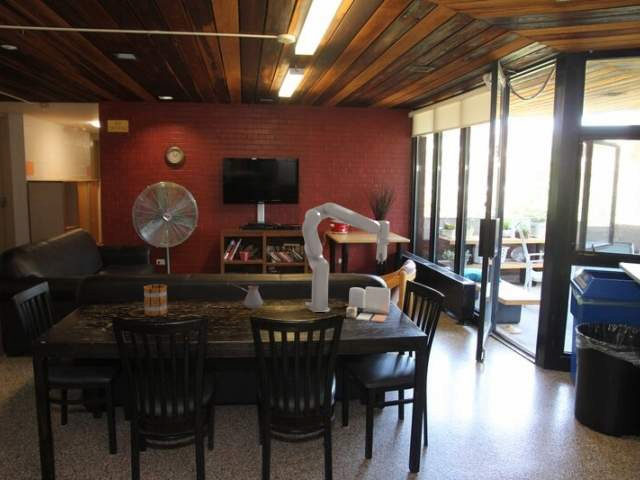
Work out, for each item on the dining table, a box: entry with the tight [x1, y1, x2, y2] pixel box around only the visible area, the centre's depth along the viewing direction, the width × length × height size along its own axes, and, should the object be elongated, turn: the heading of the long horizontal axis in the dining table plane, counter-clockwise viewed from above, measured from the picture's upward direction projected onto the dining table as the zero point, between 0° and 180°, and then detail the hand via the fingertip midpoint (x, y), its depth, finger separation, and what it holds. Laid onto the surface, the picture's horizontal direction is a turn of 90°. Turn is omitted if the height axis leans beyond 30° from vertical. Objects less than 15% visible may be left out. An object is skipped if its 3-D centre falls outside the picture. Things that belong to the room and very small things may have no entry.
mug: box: [143, 283, 168, 316], centre depth 284 cm, size 20×14×15 cm
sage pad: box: [355, 312, 374, 322], centre depth 281 cm, size 7×12×1 cm, turn 162°
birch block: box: [345, 306, 358, 319], centre depth 283 cm, size 5×5×5 cm
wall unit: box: [361, 286, 393, 316], centre depth 292 cm, size 16×8×14 cm, turn 72°
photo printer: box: [348, 286, 365, 310], centre depth 303 cm, size 10×4×12 cm, turn 67°
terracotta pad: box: [370, 314, 388, 323], centre depth 278 cm, size 7×12×1 cm, turn 162°
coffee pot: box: [227, 281, 264, 310], centre depth 297 cm, size 21×12×15 cm, turn 87°
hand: (381, 269), depth 299 cm, fingers open, 9 cm apart
